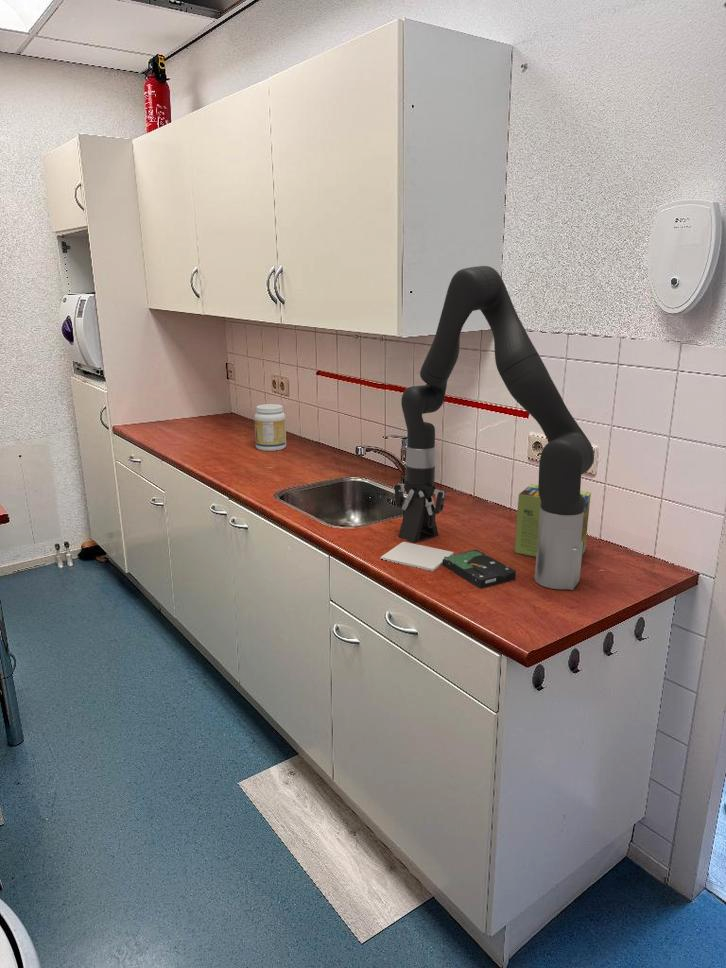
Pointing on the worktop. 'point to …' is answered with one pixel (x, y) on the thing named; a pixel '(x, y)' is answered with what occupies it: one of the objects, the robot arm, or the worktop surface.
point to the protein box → (537, 520)
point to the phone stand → (417, 522)
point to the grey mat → (417, 556)
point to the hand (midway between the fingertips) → (418, 524)
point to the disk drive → (479, 568)
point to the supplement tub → (270, 427)
